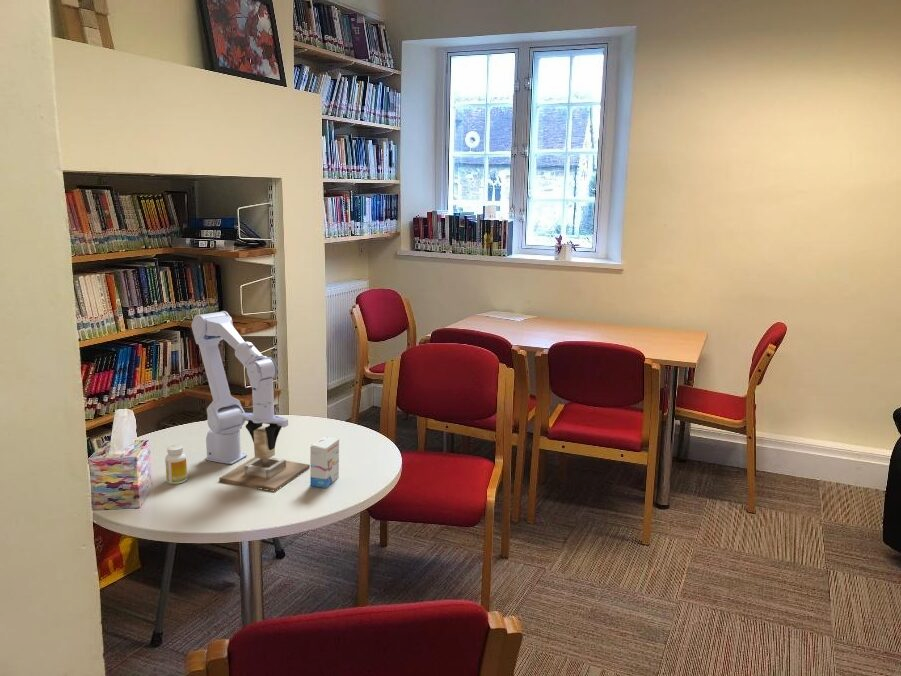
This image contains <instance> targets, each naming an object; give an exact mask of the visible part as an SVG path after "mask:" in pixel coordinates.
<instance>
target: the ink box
mask: <svg viewBox="0 0 901 676" xmlns="http://www.w3.org/2000/svg"><path fill="white" fill-rule="evenodd" d="M309 449H310V451H309V452H310V464H309V465H310V468H309V469H310V475H309V476H310V482H309V483H310V487H315V486H316V487H315V488H321V489H326V487H327V488H328V487H329V486H330V485H332V483H334V482H335V481H336V480H337V479H338V478H339V475H340V474H339V471H340V439H339V438H335V437H329V436H323V437H321V438H319V439H318V440H316V441H314V443H312V444H311V446H310V448H309Z"/></svg>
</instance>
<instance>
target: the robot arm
mask: <svg viewBox="0 0 901 676" xmlns="http://www.w3.org/2000/svg"><path fill="white" fill-rule="evenodd" d="M190 325H191V330H192V335H193V337H194V341H195V344H196V345H198V347H199V351H200V355H201V358H202V362H203V366H204V370H205V375H206V378H207V382H208V386H209V388H210V394H211V396H212V401H211V403H210V404H209V405H208V406H207V408H206V415H207V420H206V421H207V425H208V427H209V430H208V432H207V433H206V438H205V444H206V457H205V458H204V460H205V461H209V462H216V463H221V464H227V465H233V464H235V463H236V462H238V461H240V460H242V459H243V458H245V457H247V456H248V454H247V453H243V452H242V451H241V450H242V449H241V448H242V447H241V430H242V429H243V426H244V425H245V429H246V430H247V431H248V433H249V435H250V437H251V440H252V442H253V443H254V430H256V429H258V428H259V427H261V426H263V424H265V425H267V426H265V427H266V428H265V430H266V433H267V438H268V448H269V450H272V449H274V448H276V443H277V440H278V436H279V434H280V431H281V430H282V428H286V427H288V426H289V419H288V418H286V417H285V418H284V417H282V416H280V415H276V414H275V404H274V401H275V400H274V397H275V396H274V395H275V394H274V393H275V392H274V378H275V377H276V376H277V374H278V365H277V363H276V361H275V359H274V358H273V357H268V356H267V355H263V354H262V352H260V351H259V350H258V348H256V346H255V345H254V344H253V342H250V341H245V340H244V338H242V336H241V334H240V333H239V332H238V331H237V329H236V328H235V327H234V325H233V319H232V316H230V314H229V313H228V312H227V311H225V310H221V311H218V312H211V313H210V312H209V313H204V314H195V315H194V317H193V319H192V322H191V324H190ZM222 340H224V341H225V342H226V343H227V344H228V345H229V346H231V348H233V349H234V357H235V358H237V360H238V361H239V363H241V364H242V366H243V367H245V369H246V375H247V377H248V379H249V385H250V387H251V392H252V393H251V395H252V398H251V399H252V412H245V410H244V409H243V408H244V407H243V406H242V404H241V401H240V400H239V399H237V398H235V397H234V396H232V395H231V391H230V387H229V383H228V379H227V374H226V371H225V368H224V364H223V359H222V356H221V352H220V348H219V344H220V341H222ZM221 408H222V409H221ZM246 422H247V423H246ZM245 423H246V424H245Z"/></svg>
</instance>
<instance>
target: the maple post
mask: <svg viewBox="0 0 901 676" xmlns="http://www.w3.org/2000/svg"><path fill="white" fill-rule="evenodd" d="M266 427H267V426H263V425H262V426H261V427H259V428H258V429H256V430H254V442H253V447H254V451H253V452H254V453H253V454H254V457H255V458H260V459H266V460H267V459H269V458H270V457H271V458H273V457H274V456H275V455H276V452H275V451H276V449H275V448H276V447H275V448H274V449H272V450H269V448H268V438H267V433H266V430H265V428H266Z"/></svg>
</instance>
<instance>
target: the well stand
mask: <svg viewBox="0 0 901 676" xmlns="http://www.w3.org/2000/svg"><path fill="white" fill-rule="evenodd" d="M308 468H309V469H310V468H311V467H310V464H307V463H301V462H295V461H290V460H286V459H282V458H276V457H270V458H269V459H267V460H266V459H260V458H255V456H254V457H253V458H251V459H249V460H247V461H246V462H243V464H241V465H239V466H237V467H235V468H234V469H231V470H230V471H228V472H227V473H225V474H223V475H222V476H220V477H219V478H218V479H219V482H221V483H226V484H231V483H232V485H237V486H242V485H243V486H244V487H248V486H249V487H248V488H253V487H255V488H254V489H258V488H262V489H261V490H264V489H268V490H267V491H269V490H274V491H276V490H277V489H278V490H280V489H281V488H283V487H285V486H286V485H287V484H289V483H290V482H291V480H292V481H293V480H294V479H296V478H297V477H299V476H301V475H302V474H303V473H304V471H305V472H306V471H307V470H309V469H308ZM301 473H302V474H301ZM298 475H299V476H298ZM288 482H289V483H288ZM285 484H286V485H285ZM243 486H242V487H243ZM282 486H283V487H282ZM280 487H281V488H280ZM279 488H280V489H279ZM278 490H277V491H278ZM274 491H273V492H274ZM277 491H276V492H277Z"/></svg>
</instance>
